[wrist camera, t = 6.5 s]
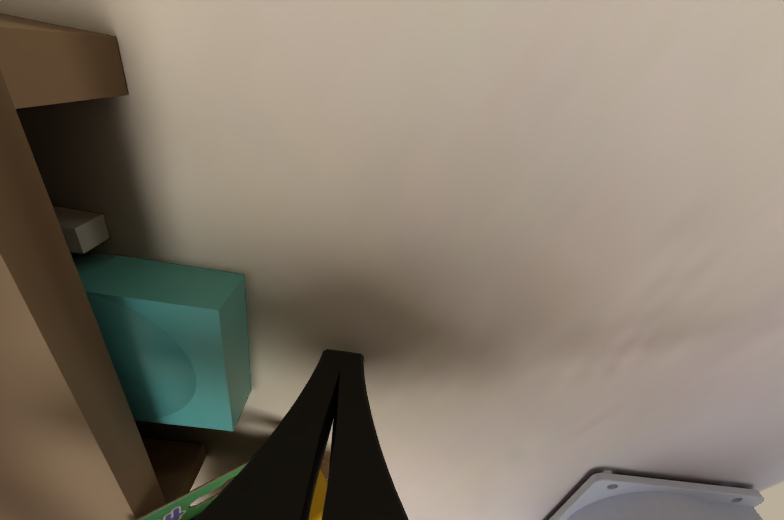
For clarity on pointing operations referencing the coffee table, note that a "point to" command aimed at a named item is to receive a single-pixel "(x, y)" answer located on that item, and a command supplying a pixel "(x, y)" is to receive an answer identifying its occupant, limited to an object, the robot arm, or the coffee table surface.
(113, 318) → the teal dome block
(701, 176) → the coffee table surface
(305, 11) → the coffee table surface
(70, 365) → the brown ledge shelf
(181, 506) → the crayon box
